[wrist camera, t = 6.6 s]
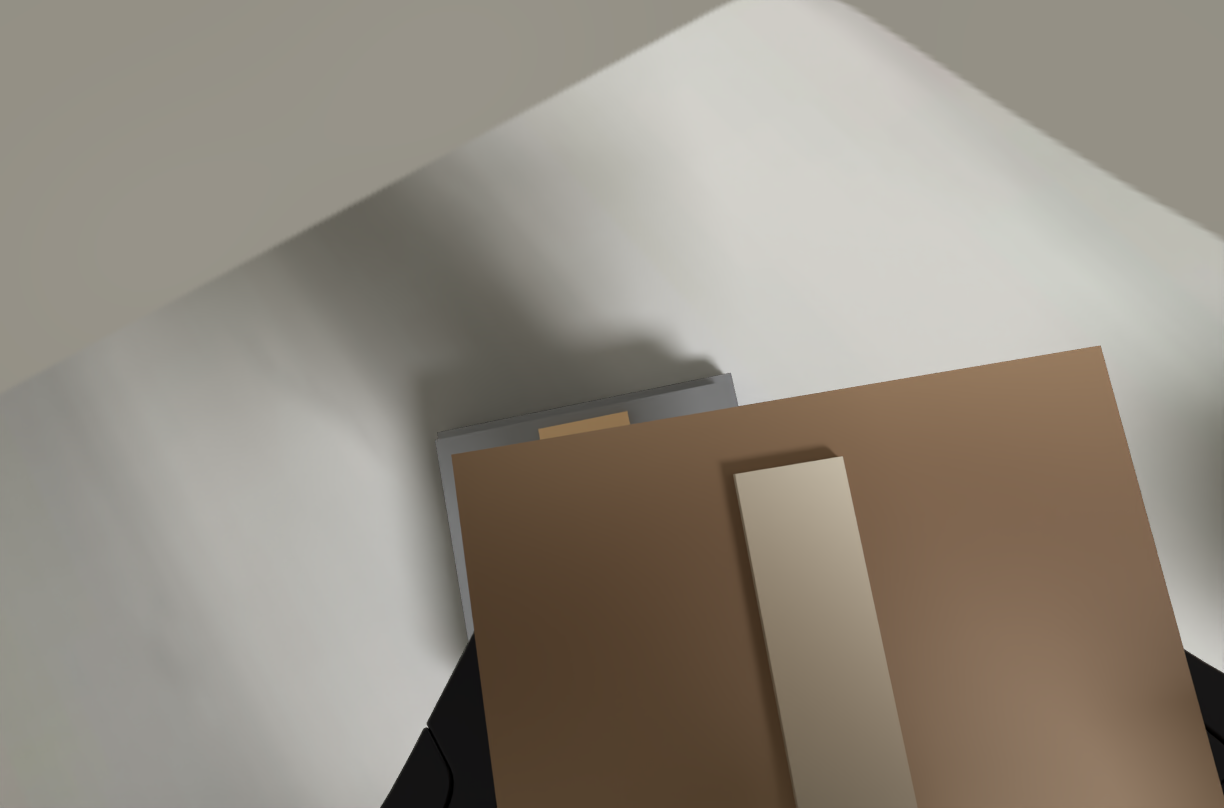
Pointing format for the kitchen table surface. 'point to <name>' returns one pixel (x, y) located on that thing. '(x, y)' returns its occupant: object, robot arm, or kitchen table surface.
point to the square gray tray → (566, 422)
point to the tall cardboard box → (835, 605)
